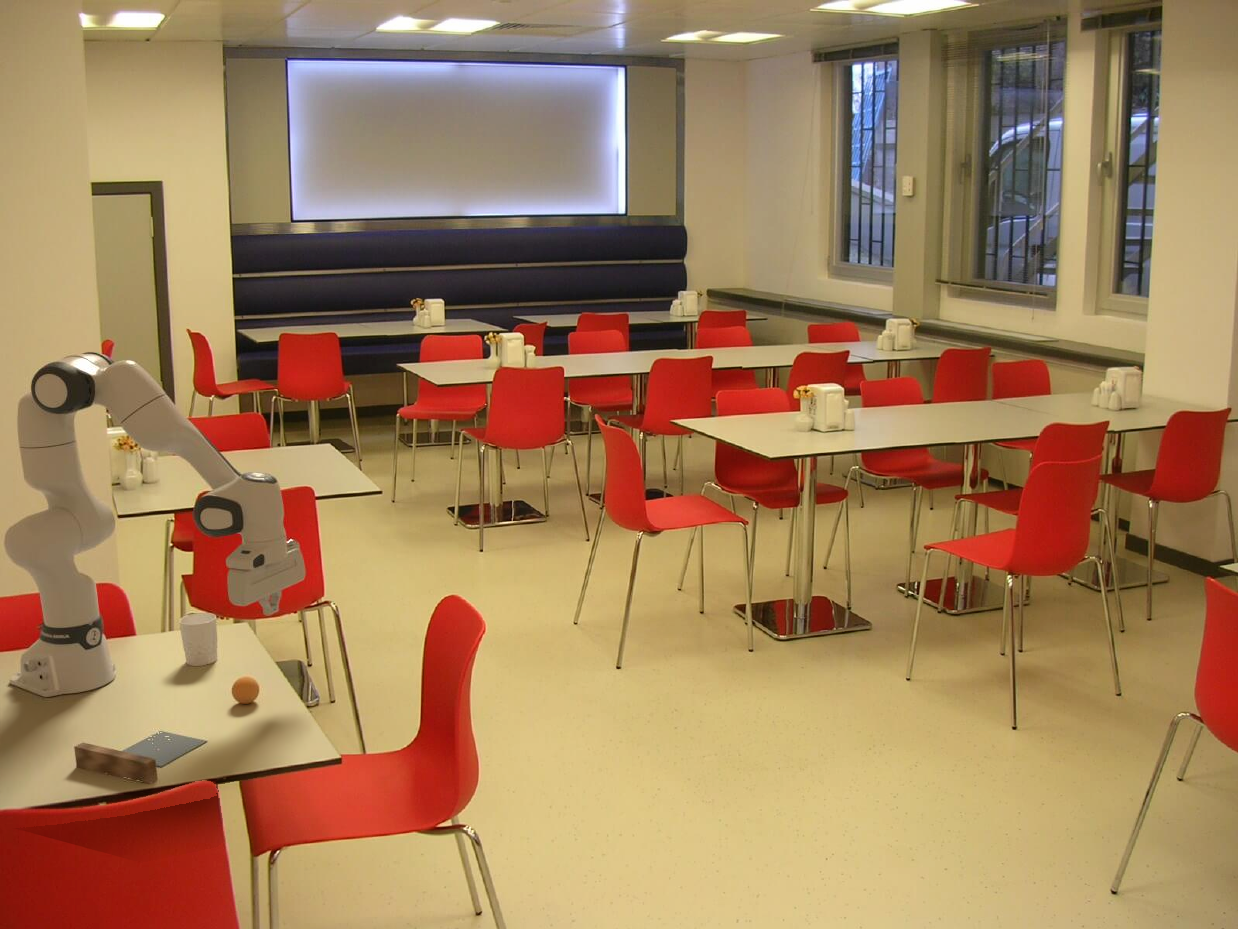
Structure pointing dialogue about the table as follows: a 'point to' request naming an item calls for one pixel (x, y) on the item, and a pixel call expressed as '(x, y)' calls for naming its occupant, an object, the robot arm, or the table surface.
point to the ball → (245, 690)
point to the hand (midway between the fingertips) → (271, 613)
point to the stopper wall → (115, 762)
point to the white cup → (199, 638)
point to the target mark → (164, 747)
